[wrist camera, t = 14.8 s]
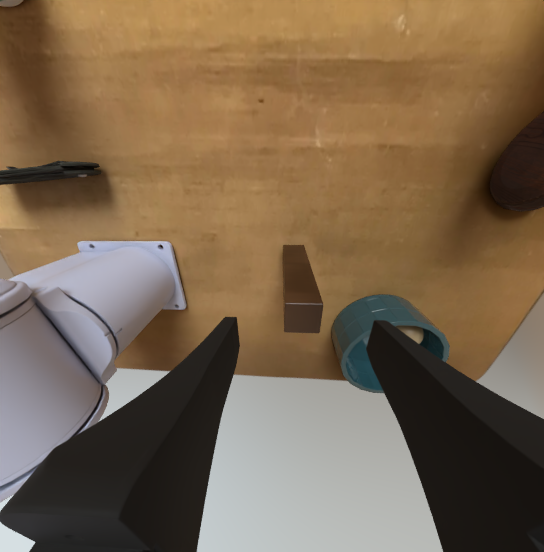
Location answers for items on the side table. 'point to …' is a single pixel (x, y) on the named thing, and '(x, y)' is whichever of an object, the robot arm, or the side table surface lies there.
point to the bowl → (357, 327)
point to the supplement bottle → (10, 3)
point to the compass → (521, 170)
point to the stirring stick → (300, 292)
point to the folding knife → (48, 172)
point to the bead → (413, 332)
